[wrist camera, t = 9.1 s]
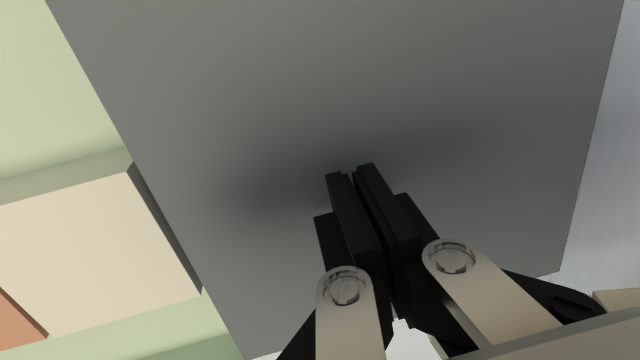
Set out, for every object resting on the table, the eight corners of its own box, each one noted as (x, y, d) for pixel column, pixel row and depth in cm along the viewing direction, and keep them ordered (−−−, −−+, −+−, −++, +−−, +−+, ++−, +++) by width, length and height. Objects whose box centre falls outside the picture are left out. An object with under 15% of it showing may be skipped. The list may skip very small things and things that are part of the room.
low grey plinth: (570, -133, 11) (664, -168, 9) (518, 233, 19) (559, 271, 17) (85, -22, 10) (31, -24, 8) (246, 309, 19) (245, 360, 16)
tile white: (147, 140, 13) (125, 171, 11) (207, 254, 16) (201, 296, 14) (-12, 183, 13) (-66, 223, 10) (81, 290, 16) (54, 338, 14)
